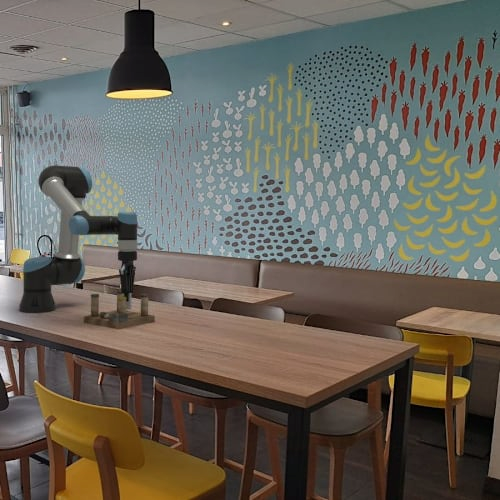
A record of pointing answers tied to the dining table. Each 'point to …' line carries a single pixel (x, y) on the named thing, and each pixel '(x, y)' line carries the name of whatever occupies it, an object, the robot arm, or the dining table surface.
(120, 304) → the swing leg
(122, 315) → the stool seat
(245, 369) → the dining table surface
